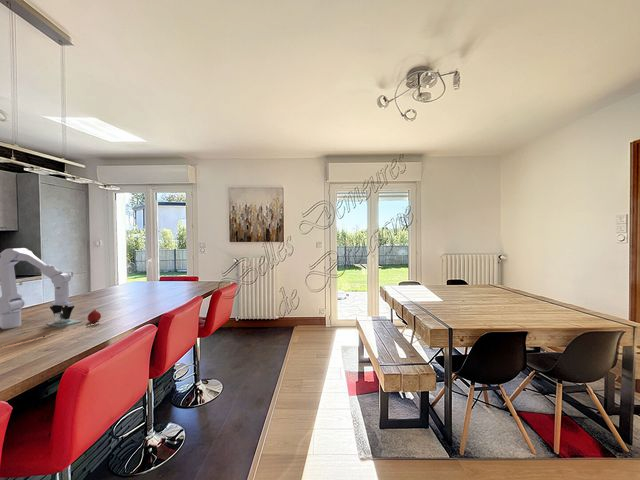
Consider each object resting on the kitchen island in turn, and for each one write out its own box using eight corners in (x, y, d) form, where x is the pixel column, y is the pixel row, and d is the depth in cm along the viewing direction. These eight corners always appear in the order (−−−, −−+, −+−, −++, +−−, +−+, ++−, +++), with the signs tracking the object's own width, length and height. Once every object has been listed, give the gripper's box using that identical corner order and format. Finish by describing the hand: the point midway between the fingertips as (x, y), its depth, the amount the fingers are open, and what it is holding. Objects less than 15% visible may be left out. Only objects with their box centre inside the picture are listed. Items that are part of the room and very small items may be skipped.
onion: (93, 325, 151) (92, 311, 151) (85, 324, 152) (84, 310, 152) (103, 322, 156) (103, 308, 156) (95, 321, 158) (95, 308, 158)
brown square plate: (18, 331, 142) (18, 329, 142) (41, 326, 150) (41, 324, 150) (27, 333, 138) (26, 331, 138) (50, 328, 147) (50, 326, 147)
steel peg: (54, 325, 151) (54, 313, 151) (64, 323, 155) (63, 311, 155) (60, 326, 150) (59, 313, 150) (69, 323, 154) (69, 311, 154)
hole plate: (46, 326, 150) (46, 323, 150) (68, 320, 159) (68, 318, 159) (59, 329, 145) (59, 326, 145) (82, 323, 154) (82, 320, 154)
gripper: (44, 295, 151) (45, 319, 151) (61, 296, 147) (62, 321, 147) (59, 292, 158) (60, 315, 158) (76, 294, 153) (77, 317, 154)
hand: (62, 318), depth 153 cm, fingers open, 7 cm apart
